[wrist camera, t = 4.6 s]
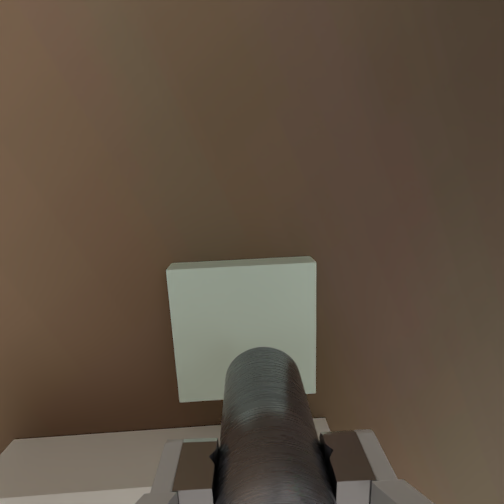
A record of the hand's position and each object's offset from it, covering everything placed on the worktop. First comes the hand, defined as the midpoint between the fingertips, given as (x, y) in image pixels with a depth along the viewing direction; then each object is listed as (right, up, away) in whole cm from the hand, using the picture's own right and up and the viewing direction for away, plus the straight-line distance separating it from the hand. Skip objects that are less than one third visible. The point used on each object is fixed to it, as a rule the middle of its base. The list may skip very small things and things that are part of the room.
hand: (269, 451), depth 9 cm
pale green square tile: (-1, +2, +10) cm, 10 cm away
